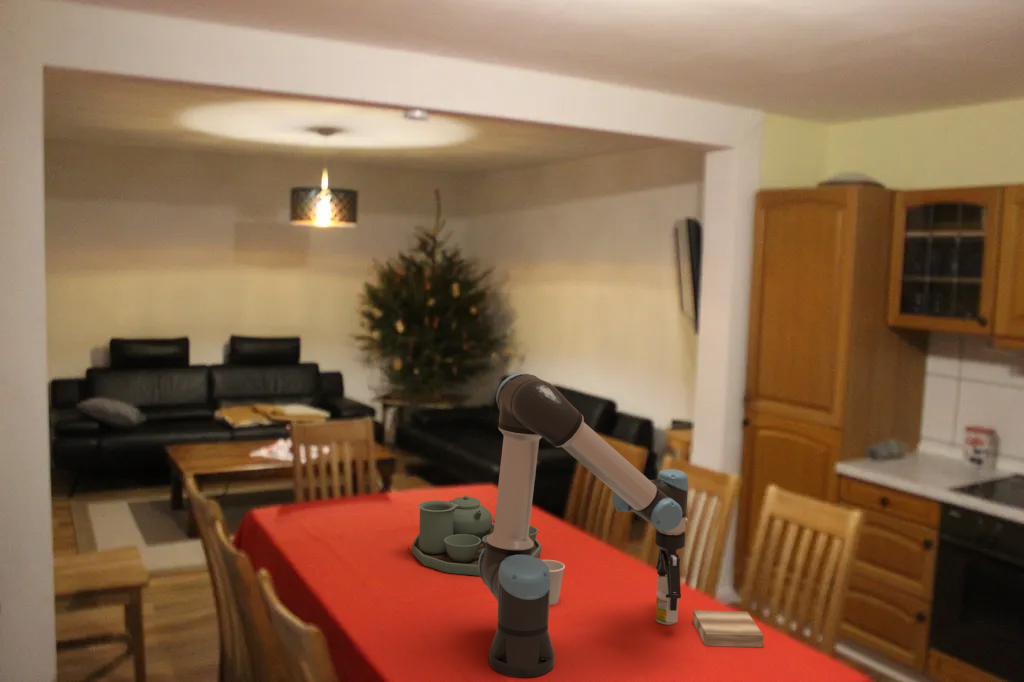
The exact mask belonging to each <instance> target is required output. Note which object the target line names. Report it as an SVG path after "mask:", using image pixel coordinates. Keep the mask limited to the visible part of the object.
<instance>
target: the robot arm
mask: <svg viewBox="0 0 1024 682" xmlns="http://www.w3.org/2000/svg"><path fill="white" fill-rule="evenodd" d="M496 391H497V392H496V395H495V396H496V397H495V399H496V404H497V408H498V410H499V418H498V427H497V428H498V430H499V431H500V433H501V434H502V435H503V441H502V449H501V450H502V451H501V459H500V465H499V466H500V467H499V476H498V486H497V495H496V505H495V512H494V517H495V521H494V522H493V524H494V530H493V533H491V534H490V535H489V536H488V537H487V538H486V546H485V548H484V549H483V550H482V552H481V554H480V557H479V561H478V568H479V573H480V576H479V577H480V578H481V581H482V582H483V584H484V585H485V586H486V587H487V589H488V590H489V591H490V593H491V594H492V595H493V596H494V598H495V599H496V601H497V627H496V631H495V634H494V637H493V639H492V642H491V644H490V647H489V650H488V664H489V666H490V667H491V668H492V669H493V670H494V671H496V672H498V673H499V674H502V675H504V676H510V677H516V678H534V677H539V676H542V675H544V674H547V673H549V672H551V670H552V669H553V668H554V666H555V657H556V656H555V655H556V654H555V650H554V646H553V643H552V640H551V637H550V632H549V617H550V615H549V612H550V605H549V595H550V584H551V580H550V571H549V568H548V566H547V565H546V563H545V562H543V561H542V560H543V559H541V558H539V557H538V558H534V557H533V556H532V555H533V546H534V543H533V541H532V540H531V539H530V538H529V536H528V535H529V526H531V516H532V506H533V497H534V490H535V489H534V487H535V481H536V473H537V472H536V471H537V464H538V463H537V462H538V461H537V460H538V456H539V455H538V454H539V444H540V440H541V439H545V440H546V441H547V442H549V443H550V444H551V445H553V447H555V448H562V449H564V450H565V451H566V452H567V453H568V454H570V455H571V457H573V458H574V459H575V460H577V462H579V463H580V464H581V465H582V466H584V467H585V468H586V469H587V470H588V471H589V472H591V474H593V475H594V476H595V477H596V478H598V479H599V481H601V482H602V483H603V484H605V485H606V486H607V487H608V488H609V489H611V491H612V494H611V496H612V497H611V499H612V503H613V506H614V508H615V510H616V511H618V512H625V513H629V512H634V514H636V515H638V516H639V517H641V518H642V519H644V520H646V521H647V522H648V523H649V524H651V525H652V526H653V527H654V528H655V529H656V530H655V542H654V543H655V545H656V546H657V547H659V549H658V554H657V560H656V565H655V566H656V567H655V569H656V571H657V572H656V573H657V577H656V578H657V581H656V593H657V592H658V591H660V583H662V582H667V584H668V594H666V598H667V610H666V622H676V623H678V613H679V599H681V598H682V593H681V573H680V571H681V570H680V567H681V565H680V562H681V561H680V560H681V559H680V557H679V554H678V553H677V551H678V550H680V549H683V548H684V547H685V546H686V533H685V531H686V527H687V526H686V525H687V524H686V523H688V522H689V518H687V509H688V495H689V494H688V493H689V477H688V475H687V473H685V472H684V471H683V470H679V469H672V468H669V469H667V468H666V469H662V470H659V472H658V476H657V479H656V478H655V479H649V478H647V476H646V475H644V473H642V472H641V471H640V470H639V469H637V467H635V466H634V465H633V464H632V463H631V462H630V461H628V460H627V459H626V458H625V457H624V456H623V455H621V453H620V452H618V451H617V450H616V449H615V448H614V447H613V446H612V445H610V443H608V442H607V441H606V440H604V438H603V437H601V435H599V434H598V433H597V432H596V431H594V430H593V429H592V428H591V427H590V426H589V425H588V424H587V423H586V422H585V421H584V419H585V418H584V416H583V414H582V413H581V412H580V411H579V410H578V409H577V408H576V407H575V406H573V404H572V403H571V402H570V401H569V400H567V398H566V397H565V396H564V395H563V394H562V392H561V391H559V390H558V388H556V386H554V385H553V384H552V383H550V382H548V381H546V380H543V379H541V378H539V377H538V376H536V375H534V374H530V373H523V372H520V373H514V374H512V375H510V376H508V377H506V378H505V379H504V380H503V381H501V384H500V385H499V387H498V388H497V390H496ZM673 592H676V593H673ZM655 598H657V596H656V597H655Z"/></svg>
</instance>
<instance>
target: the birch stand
mask: <svg viewBox="0 0 1024 682" xmlns="http://www.w3.org/2000/svg"><path fill="white" fill-rule="evenodd" d="M692 622H693V624H694V627H695V628H696V631H697V633H698V634H699V636H700V639H701V640H702V642H703V644H704V646H707V647H741V648H745V647H747V648H763V646H764V634H763V633H762V631H761V630H760V628H759V627H758V625H757V624H756V622H755V620H754V619H753V618H752V617H751V614H750V612H748V611H738V610H737V611H733V610H732V611H730V610H700V609H699V610H697V609H694V610H693V611H692Z"/></svg>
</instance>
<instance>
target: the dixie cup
mask: <svg viewBox="0 0 1024 682" xmlns="http://www.w3.org/2000/svg"><path fill="white" fill-rule="evenodd" d="M541 560H542V561H543V562H545V563H546V565H547V566H548V568H549V571H550V580H551V584H550V595H549V606H552V605H557V604H559V601H560V600H559V599H560V594H561V590H562V589H561V588H562V581H563V576H564V575H563V574H564V570H565V568H566V565H565V564H564V563H563V562H561V561H559V560H552V559H541Z"/></svg>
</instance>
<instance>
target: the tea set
mask: <svg viewBox="0 0 1024 682" xmlns="http://www.w3.org/2000/svg"><path fill="white" fill-rule="evenodd" d="M417 506H418V508H419V530H418V532H419V534H417V535H416V536H415V539H414V540H413V543H412V545H411V552H412V555H413V556H414V557H415V558H416V559H417V560H418V561H419V562H420V563H421V564H422V565H423V566H426V567H429V568H431V569H435V570H437V571H440V572H443V573H447V574H454V575H455V574H457V575H467V576H476V577H481V576H480V573H479V568H478V561H479V557H480V554H481V552H482V550H483V549H484V548H485V546H486V538H487V537H488V536H489V535H490V534H491V533H493V530H494V521H495V516H493V515H492V513H491V512H490V510H488V509H487V507H485V506H484V505H483V504H481V500H480V499H478V498H477V497H472V496H468V495H463V496H459V497H455V498H453V499H450V500H449V501H446V500H440V499H439V500H437V499H436V500H426V501H422V502H420V503H418V504H417ZM538 533H539V529H538V528H537V527H535V526H532V525H530V526H529V535H528V536H529V538H530V539H531V540H532V541H533V543H534V546H533V555H532V556H533V557H534V558H539V556H540V554H541V553H542V545H541V544H540V542H539V541H538V539H537V536H538V535H537V534H538Z"/></svg>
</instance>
